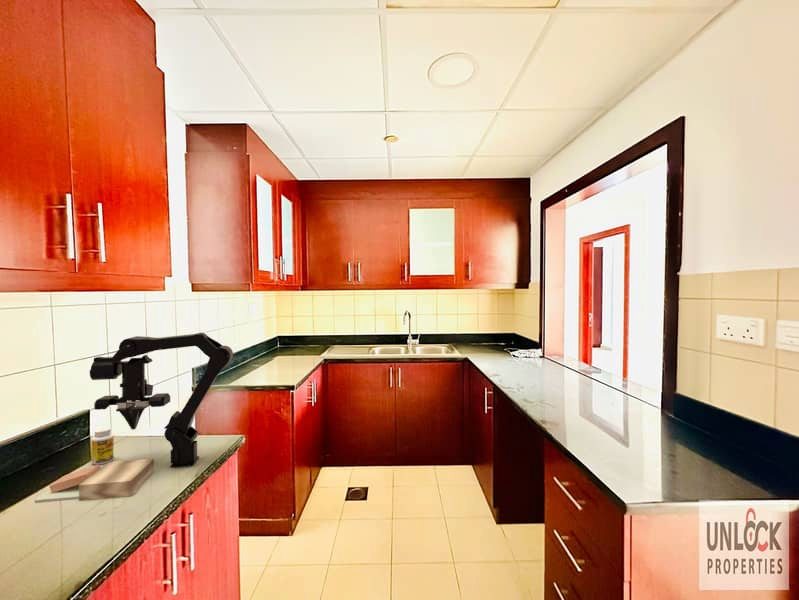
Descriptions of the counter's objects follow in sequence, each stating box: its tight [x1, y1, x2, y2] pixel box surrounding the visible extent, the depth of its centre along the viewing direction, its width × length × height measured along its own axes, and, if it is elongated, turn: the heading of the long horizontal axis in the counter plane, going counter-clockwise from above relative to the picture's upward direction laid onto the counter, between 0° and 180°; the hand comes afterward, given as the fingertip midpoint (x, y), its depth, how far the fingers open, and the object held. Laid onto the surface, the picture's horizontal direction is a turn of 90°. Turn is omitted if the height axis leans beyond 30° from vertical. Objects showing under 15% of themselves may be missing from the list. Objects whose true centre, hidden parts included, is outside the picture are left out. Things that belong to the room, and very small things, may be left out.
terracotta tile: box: [49, 464, 101, 493], centre depth 106 cm, size 9×6×2 cm, turn 101°
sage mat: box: [34, 484, 80, 503], centre depth 106 cm, size 10×12×1 cm
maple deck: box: [78, 458, 155, 501], centre depth 108 cm, size 12×14×4 cm
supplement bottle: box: [91, 427, 114, 466], centre depth 123 cm, size 6×6×10 cm
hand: (133, 429), depth 118 cm, fingers closed
